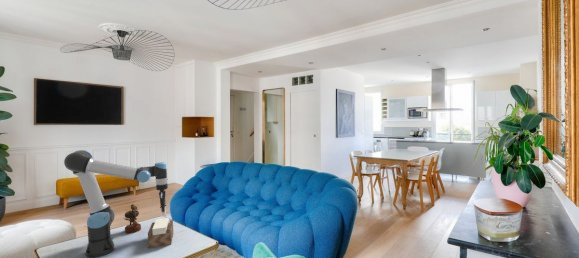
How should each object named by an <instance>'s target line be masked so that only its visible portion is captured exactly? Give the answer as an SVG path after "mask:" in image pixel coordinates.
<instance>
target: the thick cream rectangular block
mask: <svg viewBox="0 0 579 258" xmlns="http://www.w3.org/2000/svg"><path fill="white" fill-rule="evenodd" d="M169 218H170V217H165V218H157V219H155V224H154V226H153V229H152V232H153V235H158V234H165V233H166V232H167V228H168V225H169V222H170V219H169Z"/></svg>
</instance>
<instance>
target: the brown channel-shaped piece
mask: <svg viewBox="0 0 579 258" xmlns="http://www.w3.org/2000/svg"><path fill="white" fill-rule="evenodd" d="M154 224H155V222H151V224H150V227H149V228H148V232H147V243H148V249H152V248H157V247H158V248H159V247H165V246H171V245H172V243H173V239H172V238H173V237H174V220H173V219H169V225H168V228H167V232H166V233H165V234H158V235H153V232H152V229H153V226H154Z"/></svg>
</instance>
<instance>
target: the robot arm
mask: <svg viewBox="0 0 579 258" xmlns="http://www.w3.org/2000/svg"><path fill="white" fill-rule="evenodd" d="M63 164H64V166H65V168H66V169H67V170H69V171H71V172H72V173H73V175H75V176H77V178H78V181H79V182H80V187H81V189H82V191H83V193H84V196H85V199H86V201H87V203H88V206H89V208H90V210H89V212H88V214H89V216H88V217H87V218H86V219H87V220H86V226H87V241H88V242H87V245H86V249H85V253H84V254H85V257H86V256H87V258H99V257H103V256H106V255H108V254H110V253H112V252H114V250H115V249H116V248H115V243H114V241H113V238H112V235H111V225H112V223H113V222H114V220H115V215H116V214H115V211H114V210H113V209H112V208H111V206H110V204H109V203H106V200H105V198H104V196H103V192H102V190H101V187H100V186H99V182H98V180H97V177H96V175H95V174H99V175H105V176H110V177H116V178H117V177H118V178H122V179H127V180H135V181H138V182H139V183H144V184H145V183H147V182H148V181H149V180H150V179H151V178H152V177H153V178H155V184H156V185H155V189H156V191H159V192H158V195H159V205H160V206H159V209H160V211H161V213H160V214H161V217H165V216H167V211H166V206H167V203H166V190H168V185H169V184H168V180H169V179H168V173H167V171H168V168H167V163H166V162H164V161H158V162H155V163H154V165H151V166H140V167H132V166H127V165H122V164H117V163H111V162H105V161H100V160H97V159H96V160H95V159H94V157H93V155H92V153H91V152H89V151H87V150H84V149H81V150H76V151H74V152H71V153H68V154H67V155H66V156H65V158H64V160H63Z"/></svg>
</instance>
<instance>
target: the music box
mask: <svg viewBox="0 0 579 258" xmlns="http://www.w3.org/2000/svg"><path fill="white" fill-rule="evenodd" d="M130 209H131V210H129V211H126V212H125V213H124V217H123V220H125V221H128V222H129V224H127V225H126V226H125V227H124V233H126V234H134V233H138V232H140V231H141V230H142V225H141V223H139V222H137V220H138V218H137V217H139V215H140V211H139V209H138V206H137V205H135V204H134V203H132V204H130Z"/></svg>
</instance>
